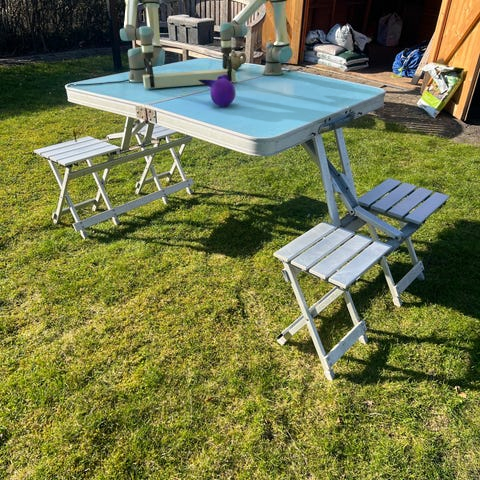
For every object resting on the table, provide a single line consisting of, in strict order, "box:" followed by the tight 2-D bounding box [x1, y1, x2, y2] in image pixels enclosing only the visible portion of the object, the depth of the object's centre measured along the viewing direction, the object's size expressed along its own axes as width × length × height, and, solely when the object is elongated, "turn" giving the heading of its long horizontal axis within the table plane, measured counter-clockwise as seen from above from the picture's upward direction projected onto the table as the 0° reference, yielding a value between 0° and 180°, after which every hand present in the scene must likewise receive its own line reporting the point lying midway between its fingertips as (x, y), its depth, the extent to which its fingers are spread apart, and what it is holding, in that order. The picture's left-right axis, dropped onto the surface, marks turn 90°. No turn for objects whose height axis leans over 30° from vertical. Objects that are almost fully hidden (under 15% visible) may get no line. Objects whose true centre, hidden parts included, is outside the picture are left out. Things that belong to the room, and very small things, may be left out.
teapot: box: [230, 50, 247, 71], centre depth 368 cm, size 21×12×15 cm, turn 120°
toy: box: [199, 75, 237, 107], centre depth 269 cm, size 16×18×27 cm
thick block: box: [143, 68, 237, 90], centre depth 319 cm, size 65×10×7 cm, turn 107°
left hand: (151, 85), depth 314 cm, fingers closed on thick block, 10 cm apart
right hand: (227, 79), depth 327 cm, fingers closed on thick block, 10 cm apart
